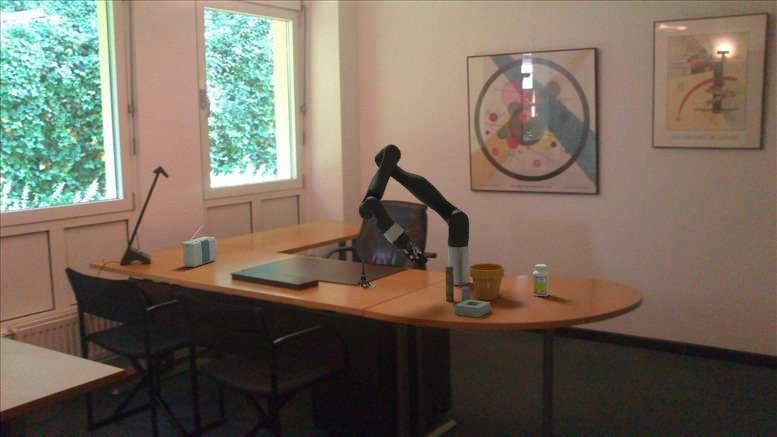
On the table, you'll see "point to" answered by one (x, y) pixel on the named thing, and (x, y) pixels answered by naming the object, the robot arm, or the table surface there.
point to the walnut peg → (449, 284)
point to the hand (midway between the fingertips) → (424, 264)
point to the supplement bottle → (541, 280)
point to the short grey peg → (465, 293)
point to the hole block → (472, 308)
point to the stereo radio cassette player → (199, 251)
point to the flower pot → (487, 280)
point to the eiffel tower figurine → (363, 278)
